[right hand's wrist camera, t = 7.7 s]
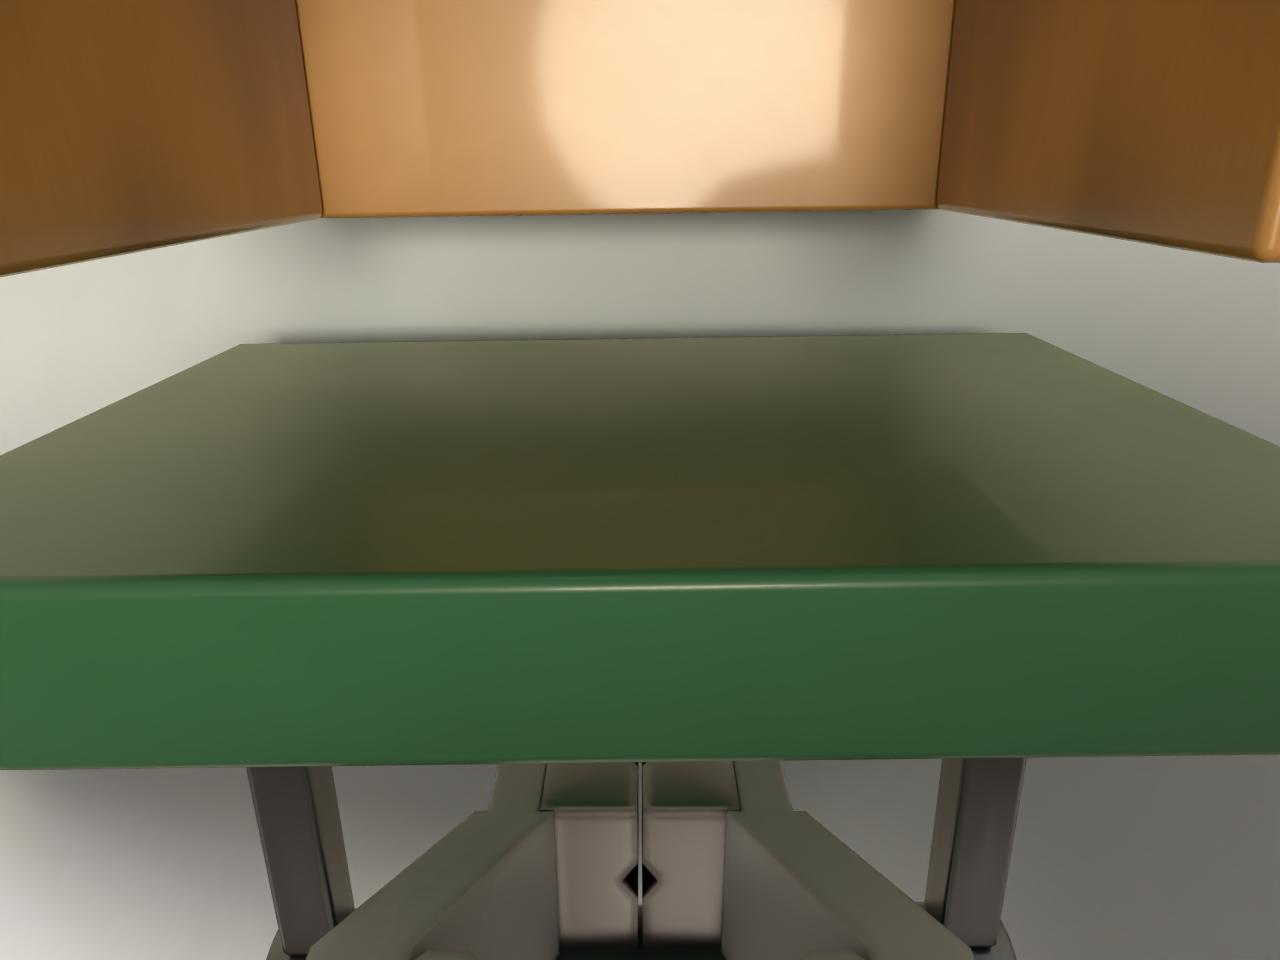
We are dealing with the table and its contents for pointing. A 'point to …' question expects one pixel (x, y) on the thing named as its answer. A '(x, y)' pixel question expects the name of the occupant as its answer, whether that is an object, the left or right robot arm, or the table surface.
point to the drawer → (637, 416)
